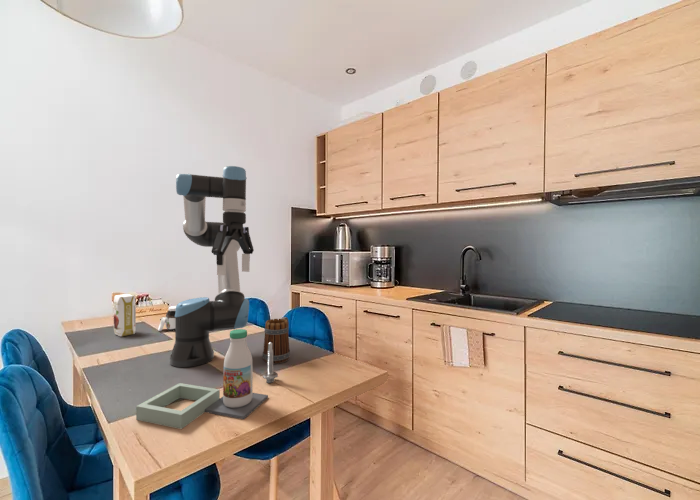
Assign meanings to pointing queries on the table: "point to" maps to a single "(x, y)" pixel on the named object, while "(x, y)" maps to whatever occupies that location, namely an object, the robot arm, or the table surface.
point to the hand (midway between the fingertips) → (234, 273)
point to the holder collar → (176, 418)
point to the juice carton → (124, 314)
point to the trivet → (238, 412)
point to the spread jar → (169, 320)
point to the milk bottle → (237, 371)
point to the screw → (270, 366)
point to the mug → (277, 340)
